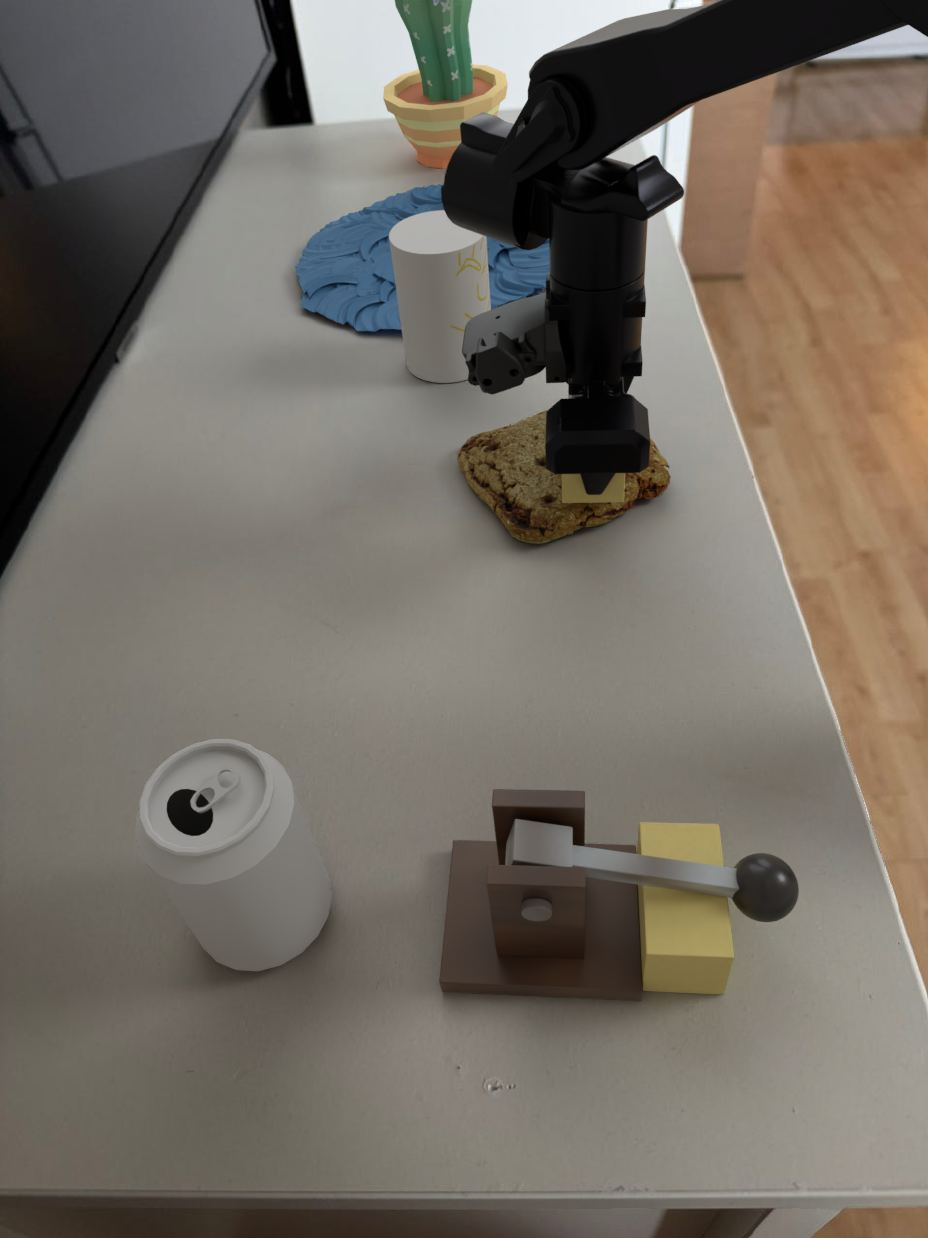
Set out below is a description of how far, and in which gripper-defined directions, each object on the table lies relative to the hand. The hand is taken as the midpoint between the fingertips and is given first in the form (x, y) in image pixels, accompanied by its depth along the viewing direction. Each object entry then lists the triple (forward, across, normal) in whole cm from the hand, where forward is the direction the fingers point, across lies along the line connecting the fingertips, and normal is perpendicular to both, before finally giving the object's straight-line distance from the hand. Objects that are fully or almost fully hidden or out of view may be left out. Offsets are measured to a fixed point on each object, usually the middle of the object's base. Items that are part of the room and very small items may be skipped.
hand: (593, 472), depth 69 cm
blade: (0, +32, +2) cm, 33 cm away
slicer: (+4, +32, -3) cm, 33 cm away
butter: (+4, +32, +4) cm, 33 cm away
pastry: (+4, -4, -2) cm, 7 cm away
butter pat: (+1, 0, 0) cm, 1 cm away
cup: (+4, -22, -13) cm, 26 cm away
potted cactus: (+4, -70, -17) cm, 72 cm away
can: (+4, +32, -18) cm, 37 cm away
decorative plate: (+4, -41, -16) cm, 44 cm away
